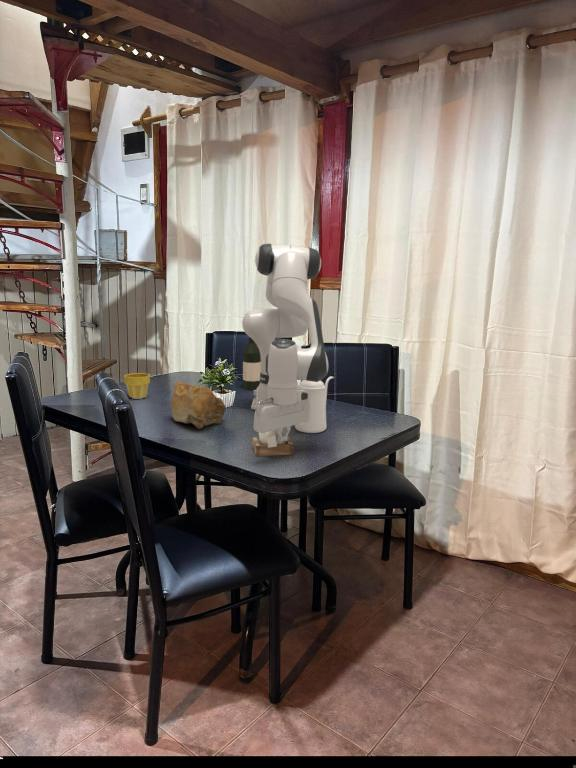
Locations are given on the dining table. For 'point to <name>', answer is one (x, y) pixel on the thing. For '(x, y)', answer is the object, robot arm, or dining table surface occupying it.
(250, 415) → the dining table surface
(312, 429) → the coffeepot
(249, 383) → the wine bottle
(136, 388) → the plant pot
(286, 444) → the cradle
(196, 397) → the rough brown rock
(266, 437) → the white bar with bulge
